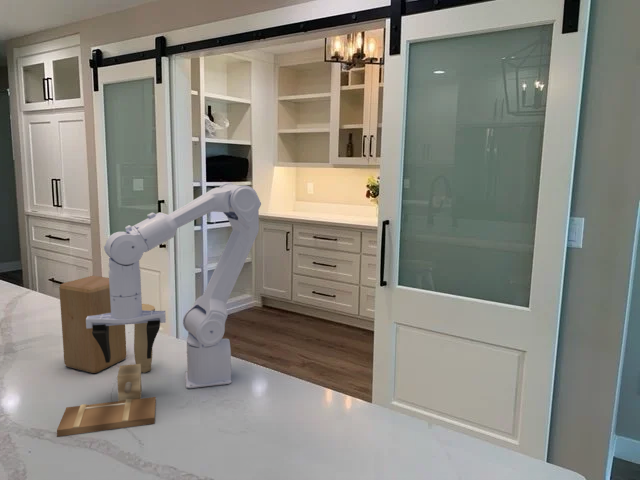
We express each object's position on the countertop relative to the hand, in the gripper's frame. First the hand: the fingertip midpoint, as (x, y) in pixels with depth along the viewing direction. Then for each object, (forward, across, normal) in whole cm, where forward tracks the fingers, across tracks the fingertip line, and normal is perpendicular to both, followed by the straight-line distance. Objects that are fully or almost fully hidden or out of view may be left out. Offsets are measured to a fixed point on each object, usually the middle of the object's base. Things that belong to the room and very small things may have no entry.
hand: (129, 358), depth 95 cm
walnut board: (+8, +3, +8) cm, 12 cm away
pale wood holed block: (+8, 0, +1) cm, 8 cm away
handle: (+8, -2, -12) cm, 15 cm away
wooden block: (+8, +9, -20) cm, 23 cm away
